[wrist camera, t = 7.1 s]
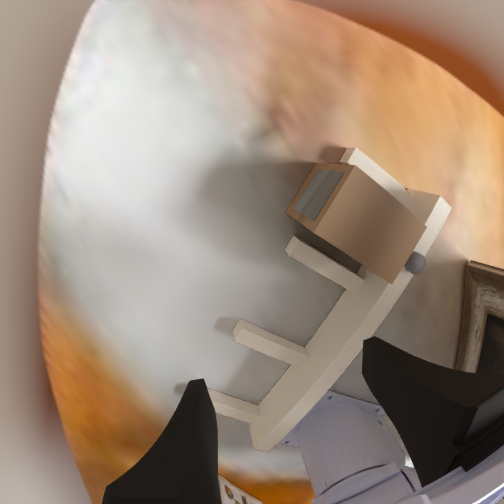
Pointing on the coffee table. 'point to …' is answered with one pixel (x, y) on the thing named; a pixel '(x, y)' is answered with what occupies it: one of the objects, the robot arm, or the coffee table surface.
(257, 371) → the coffee table surface
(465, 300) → the picture frame
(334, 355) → the cream pronged rack
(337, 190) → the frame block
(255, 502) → the decorative jar
